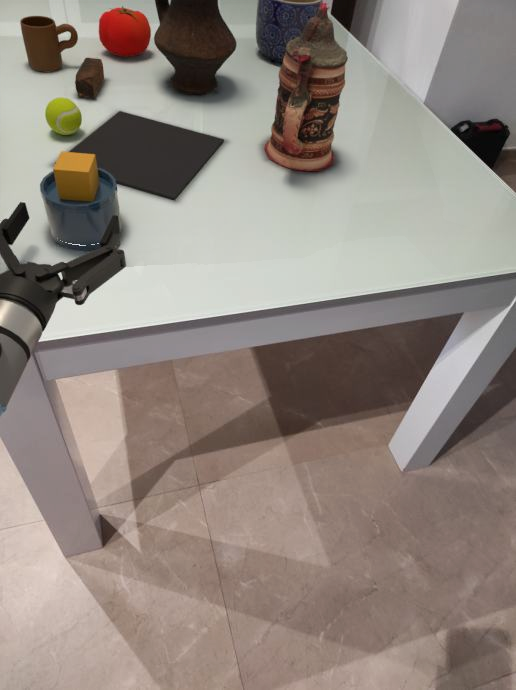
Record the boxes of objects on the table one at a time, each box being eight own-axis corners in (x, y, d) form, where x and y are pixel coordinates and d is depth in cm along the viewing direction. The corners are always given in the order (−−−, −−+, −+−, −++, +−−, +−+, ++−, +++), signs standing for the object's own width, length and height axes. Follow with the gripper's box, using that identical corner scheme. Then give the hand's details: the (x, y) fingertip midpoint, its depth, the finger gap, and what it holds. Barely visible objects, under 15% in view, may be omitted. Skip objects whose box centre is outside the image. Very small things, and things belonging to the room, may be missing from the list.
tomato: (99, 45, 132) (93, -1, 125) (148, 45, 136) (146, 1, 128) (103, 63, 126) (97, 15, 118) (155, 62, 129) (153, 17, 121)
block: (59, 199, 76) (52, 169, 73) (67, 181, 80) (60, 151, 76) (93, 202, 77) (88, 172, 73) (99, 183, 80) (95, 154, 76)
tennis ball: (78, 122, 105) (73, 89, 100) (88, 138, 102) (83, 104, 97) (45, 127, 103) (37, 93, 98) (54, 143, 99) (47, 109, 94)
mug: (83, 61, 125) (76, 17, 118) (81, 74, 120) (75, 29, 113) (31, 58, 123) (21, 14, 116) (27, 72, 118) (17, 26, 111)
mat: (55, 165, 95) (54, 162, 94) (119, 113, 110) (119, 110, 110) (174, 200, 91) (174, 197, 91) (223, 141, 107) (223, 139, 106)
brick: (87, 78, 119) (84, 56, 116) (105, 79, 120) (102, 58, 116) (76, 98, 112) (73, 76, 109) (95, 100, 113) (92, 78, 109)
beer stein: (303, 141, 115) (235, 150, 106) (328, -8, 97) (249, -12, 88) (352, 170, 105) (282, 183, 96) (391, 10, 87) (309, 7, 78)
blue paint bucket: (36, 238, 81) (24, 193, 74) (75, 202, 88) (67, 158, 82) (99, 258, 79) (91, 213, 73) (133, 220, 86) (129, 176, 80)
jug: (249, 86, 125) (262, -68, 103) (202, 110, 115) (205, -56, 92) (182, 60, 132) (181, -91, 109) (131, 80, 121) (118, -82, 98)
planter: (321, 54, 144) (332, -7, 133) (299, 73, 134) (309, 8, 122) (268, 39, 147) (274, -22, 136) (242, 57, 137) (247, -8, 126)
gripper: (-79, 325, 64) (-7, 225, 78) (118, 352, 65) (155, 248, 79) (-105, 281, 59) (-22, 182, 73) (112, 311, 59) (153, 206, 73)
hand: (70, 216), depth 76 cm, fingers open, 13 cm apart
